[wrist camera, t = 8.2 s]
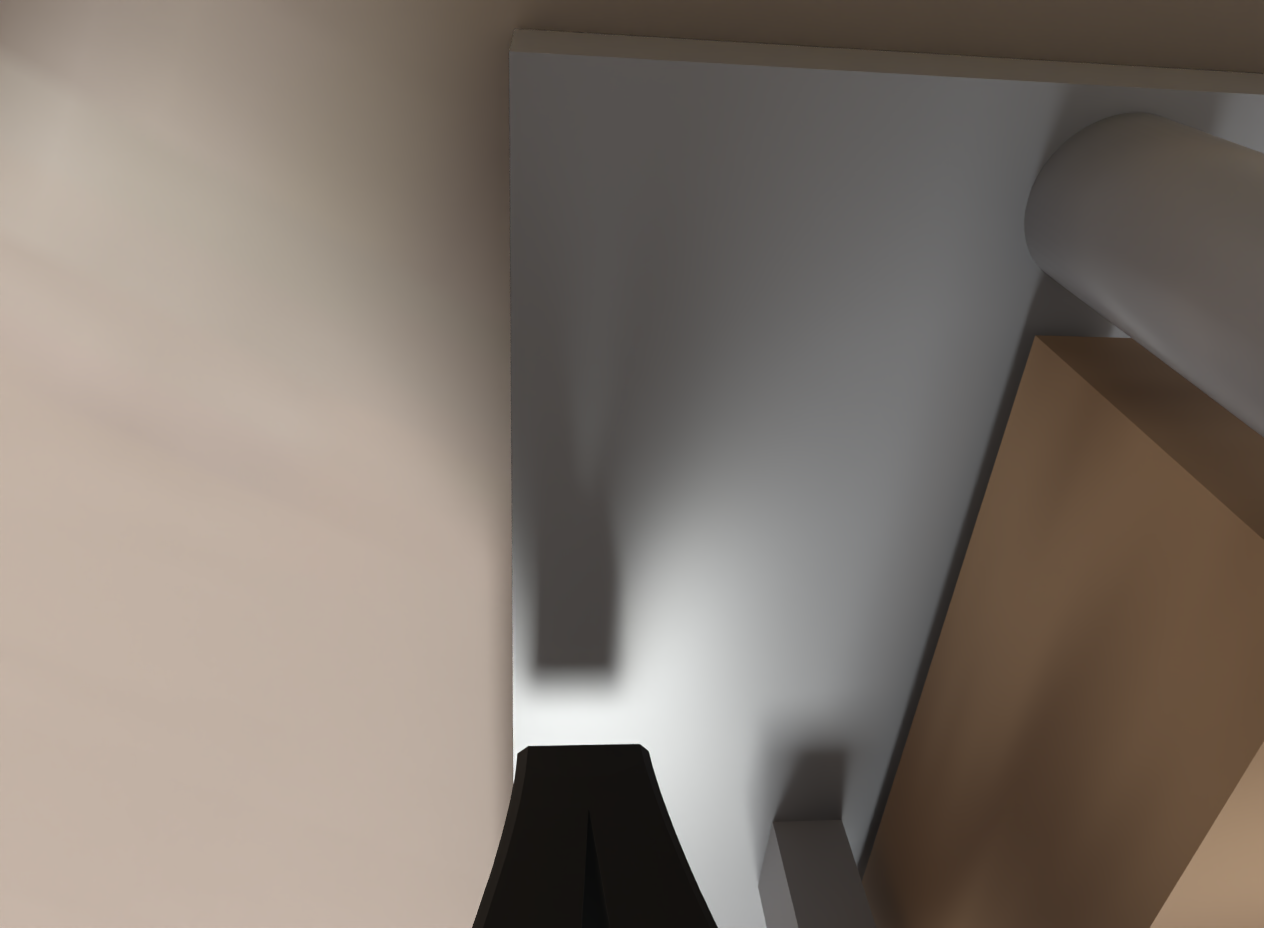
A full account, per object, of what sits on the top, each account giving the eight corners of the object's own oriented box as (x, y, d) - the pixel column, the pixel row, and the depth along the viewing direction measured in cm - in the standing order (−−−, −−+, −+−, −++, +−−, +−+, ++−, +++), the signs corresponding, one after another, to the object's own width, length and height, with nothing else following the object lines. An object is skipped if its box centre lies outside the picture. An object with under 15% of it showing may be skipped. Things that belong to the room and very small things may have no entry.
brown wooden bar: (974, 919, 14) (1112, 1246, 11) (847, 924, 14) (946, 1259, 10) (1229, 341, 9) (1643, 609, 6) (1035, 334, 9) (1342, 611, 5)
